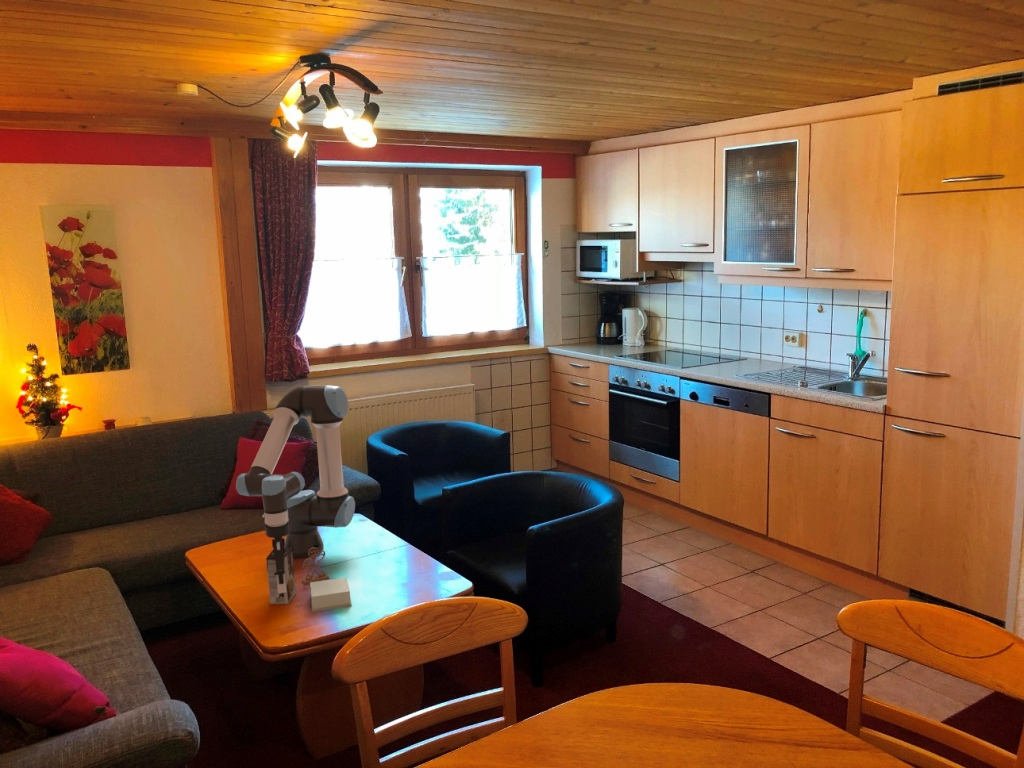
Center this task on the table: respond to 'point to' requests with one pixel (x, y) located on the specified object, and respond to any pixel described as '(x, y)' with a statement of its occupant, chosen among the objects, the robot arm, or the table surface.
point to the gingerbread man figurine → (318, 577)
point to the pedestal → (330, 594)
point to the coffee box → (289, 576)
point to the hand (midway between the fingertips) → (282, 584)
